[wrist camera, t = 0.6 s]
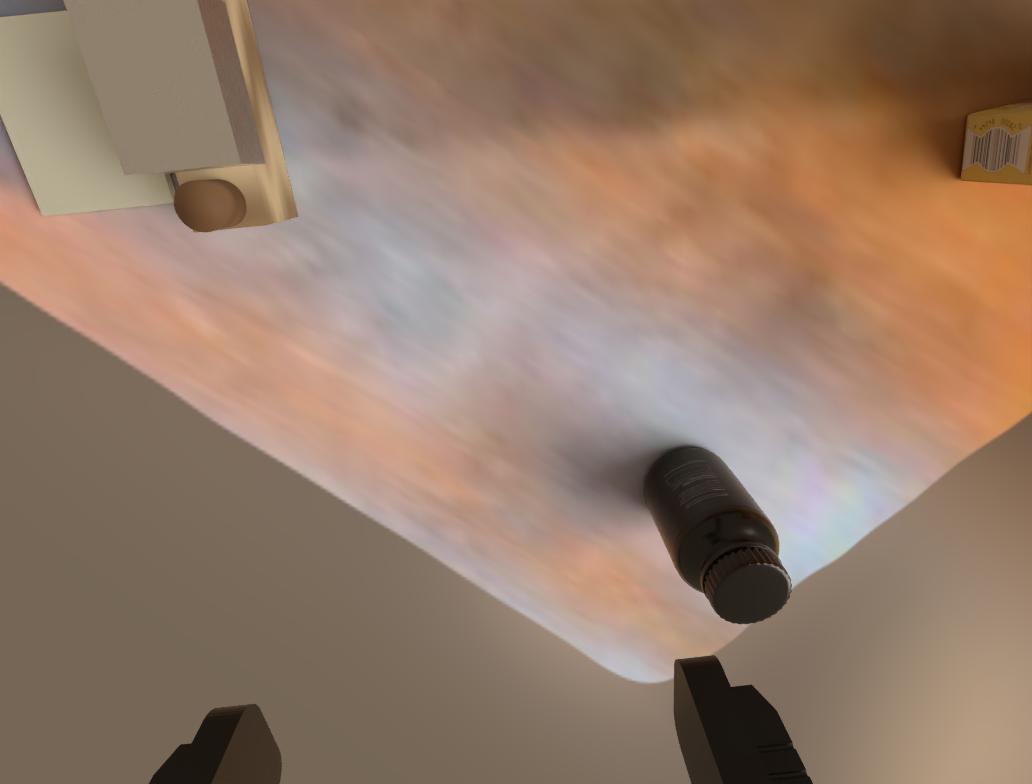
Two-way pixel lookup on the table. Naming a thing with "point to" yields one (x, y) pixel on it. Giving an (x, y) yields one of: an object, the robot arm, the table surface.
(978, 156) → the candy box
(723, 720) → the robot arm
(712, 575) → the supplement bottle
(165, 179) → the mat
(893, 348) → the table surface
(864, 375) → the table surface
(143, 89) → the lever cap
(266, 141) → the body
